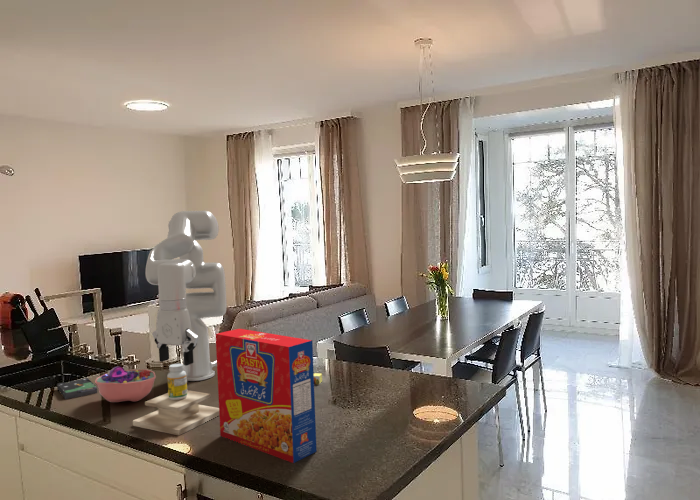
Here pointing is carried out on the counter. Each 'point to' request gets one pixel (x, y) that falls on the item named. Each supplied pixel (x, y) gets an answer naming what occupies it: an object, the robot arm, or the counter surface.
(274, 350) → the pasta box
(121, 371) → the cell model
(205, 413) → the stand
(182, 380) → the supplement bottle
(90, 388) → the disk drive
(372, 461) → the counter surface
